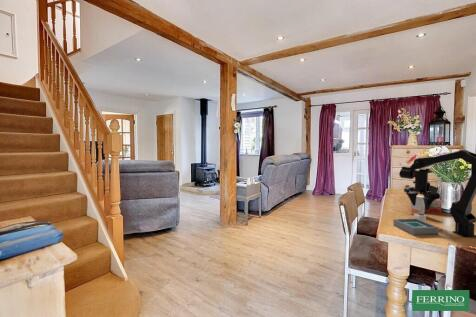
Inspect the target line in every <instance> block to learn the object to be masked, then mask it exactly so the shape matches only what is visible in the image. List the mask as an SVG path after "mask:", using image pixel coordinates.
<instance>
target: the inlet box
mask: <svg viewBox="0 0 476 317" xmlns="http://www.w3.org/2000/svg"><path fill="white" fill-rule="evenodd" d="M393 226H394V227H395V228H398V229H400V230H402V231H404V232H406V233H408V234H409V235H412V236H427V235H431V236H432V235H434V236H435V235H439V227H438V226H436V225H434V224H431V223H429V222H427V221H426V222H424V221H421V220H419V219H417V218H415V219H414V218H393Z"/></svg>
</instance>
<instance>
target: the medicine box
mask: <svg viewBox="0 0 476 317" xmlns="http://www.w3.org/2000/svg"><path fill="white" fill-rule="evenodd" d="M424 213H432V214H439V215H440V214H442V201H441V199H440V198H439V199H437V200H434V201H433V202H432V204H431V206H430V208H429V210H426V208H425V211H424Z"/></svg>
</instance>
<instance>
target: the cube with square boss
mask: <svg viewBox="0 0 476 317" xmlns="http://www.w3.org/2000/svg"><path fill="white" fill-rule="evenodd" d="M415 218H417V219H419V220H421V221H424V222H426V223H427V215H425V213H424V214H422V213H416V214H413V219H415Z"/></svg>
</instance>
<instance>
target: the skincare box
mask: <svg viewBox="0 0 476 317" xmlns="http://www.w3.org/2000/svg"><path fill="white" fill-rule="evenodd" d="M423 198H425V197H424V196H423V195H419V194H418V195H417V196H416V204H415V206H414V205H413V204H412V202H411V201H410V208H409V209H410V211H409V212H410V214H411V215H414V214H416V213H422V214H424V215H425V212H424V211H425V204H424V200H423Z"/></svg>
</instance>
